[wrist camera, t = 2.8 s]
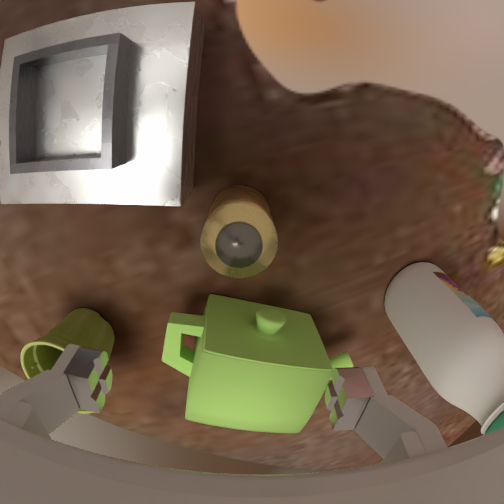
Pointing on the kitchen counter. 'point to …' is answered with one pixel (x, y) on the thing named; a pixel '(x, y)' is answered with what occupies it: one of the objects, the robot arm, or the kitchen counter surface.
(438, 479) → the robot arm
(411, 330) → the milk bottle
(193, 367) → the green teapot
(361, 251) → the kitchen counter surface
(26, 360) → the plant pot
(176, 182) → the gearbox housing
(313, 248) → the kitchen counter surface
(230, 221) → the tan cylinder
